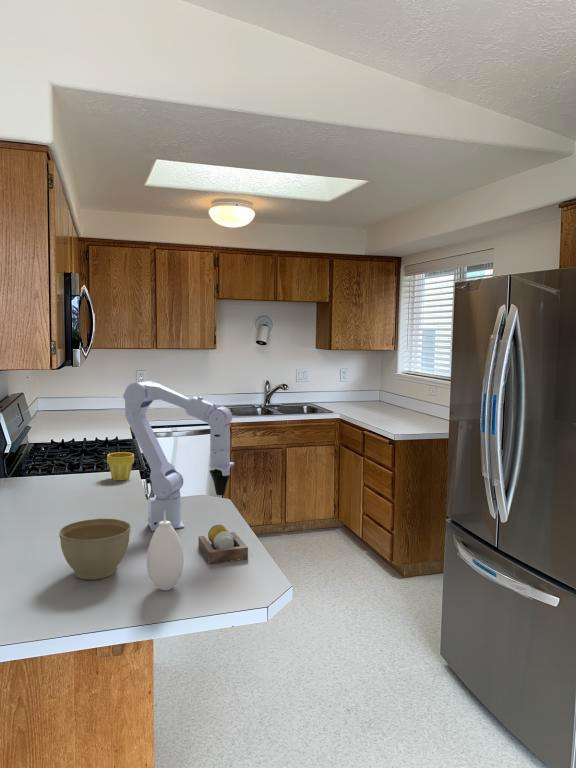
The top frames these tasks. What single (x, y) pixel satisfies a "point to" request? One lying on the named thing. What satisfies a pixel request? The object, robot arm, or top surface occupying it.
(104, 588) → the top surface
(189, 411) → the robot arm
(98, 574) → the planter bowl
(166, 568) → the sauce bottle
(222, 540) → the supplement bottle
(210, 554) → the u rest
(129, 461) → the plant pot
